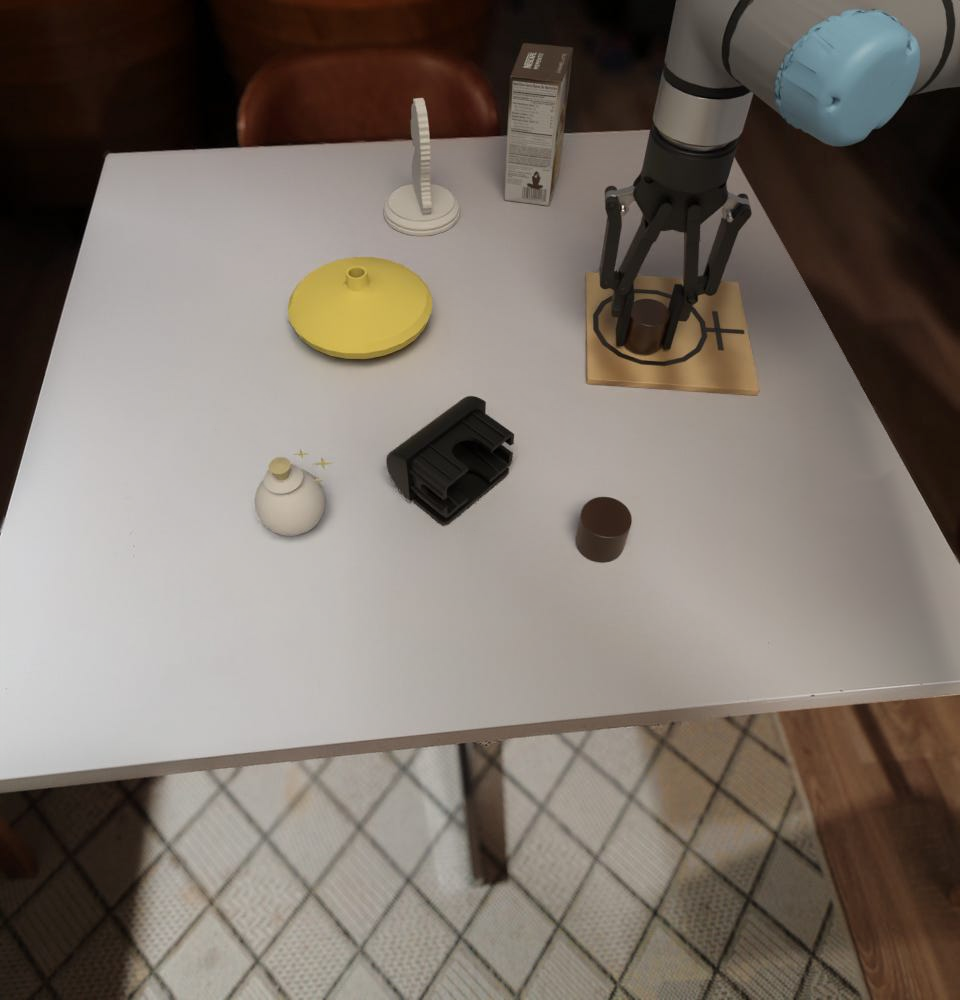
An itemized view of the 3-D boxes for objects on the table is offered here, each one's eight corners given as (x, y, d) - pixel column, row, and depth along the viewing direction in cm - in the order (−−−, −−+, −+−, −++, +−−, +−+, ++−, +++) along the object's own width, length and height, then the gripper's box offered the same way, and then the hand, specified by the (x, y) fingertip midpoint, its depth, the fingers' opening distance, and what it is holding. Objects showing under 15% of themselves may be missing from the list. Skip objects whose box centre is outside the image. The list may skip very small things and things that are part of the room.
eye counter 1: (623, 524, 71) (630, 498, 68) (624, 564, 68) (633, 539, 65) (575, 520, 71) (580, 494, 68) (575, 561, 68) (581, 536, 65)
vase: (461, 316, 87) (461, 264, 82) (370, 395, 80) (363, 344, 74) (357, 263, 93) (350, 211, 87) (262, 333, 85) (248, 281, 79)
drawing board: (736, 287, 92) (738, 280, 91) (757, 395, 81) (760, 389, 80) (585, 277, 92) (586, 271, 91) (586, 384, 81) (587, 378, 81)
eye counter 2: (661, 328, 85) (669, 299, 82) (663, 356, 83) (671, 327, 79) (621, 325, 85) (627, 297, 82) (622, 353, 83) (629, 324, 80)
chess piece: (451, 188, 103) (450, 71, 91) (467, 231, 97) (468, 112, 85) (378, 196, 101) (367, 78, 89) (390, 240, 96) (380, 121, 84)
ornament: (265, 496, 72) (240, 424, 64) (345, 491, 72) (331, 419, 64) (260, 551, 68) (233, 481, 60) (344, 545, 69) (329, 476, 61)
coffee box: (514, 164, 107) (522, 40, 94) (560, 170, 106) (574, 46, 93) (502, 201, 101) (509, 74, 88) (550, 207, 101) (564, 81, 88)
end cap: (461, 431, 77) (461, 383, 72) (514, 470, 74) (518, 422, 69) (388, 488, 73) (382, 441, 67) (440, 531, 70) (439, 486, 64)
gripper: (791, 112, 67) (718, 321, 86) (592, 100, 67) (563, 311, 86) (807, 159, 62) (726, 368, 81) (593, 146, 63) (562, 357, 82)
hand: (642, 338), depth 84 cm, fingers closed on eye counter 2, 4 cm apart
